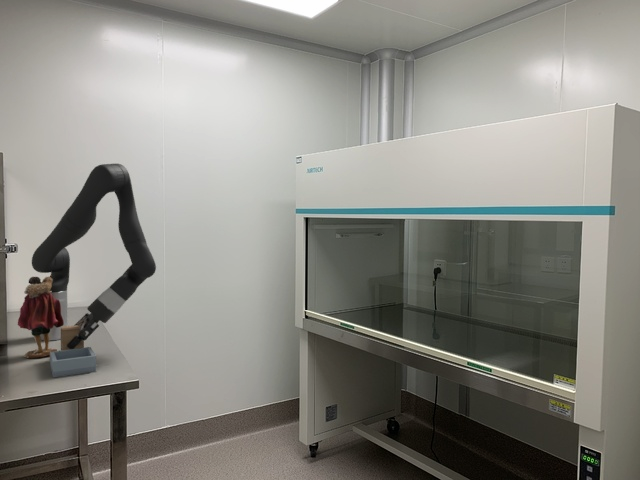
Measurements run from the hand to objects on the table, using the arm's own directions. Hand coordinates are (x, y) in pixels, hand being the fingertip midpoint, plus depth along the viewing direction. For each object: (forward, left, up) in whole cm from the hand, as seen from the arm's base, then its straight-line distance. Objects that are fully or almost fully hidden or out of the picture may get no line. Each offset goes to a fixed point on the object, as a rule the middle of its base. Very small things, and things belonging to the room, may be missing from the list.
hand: (67, 344), depth 153 cm
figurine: (-10, -7, -5) cm, 13 cm away
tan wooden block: (0, +1, -5) cm, 5 cm away
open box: (+11, 0, -5) cm, 12 cm away
